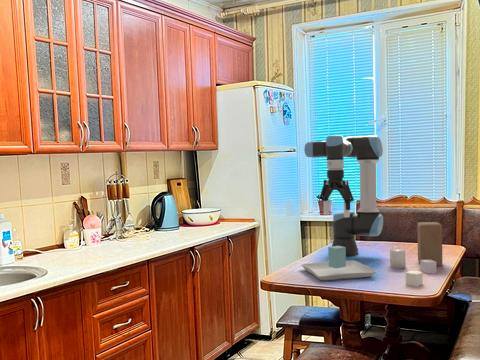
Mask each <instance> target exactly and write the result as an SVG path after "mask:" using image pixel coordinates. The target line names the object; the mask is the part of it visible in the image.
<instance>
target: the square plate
mask: <svg viewBox="0 0 480 360" xmlns="http://www.w3.org/2000/svg"><path fill="white" fill-rule="evenodd" d="M300 265H301V267H302V268H303V269H304V270H305V271H307V272H308V273H310V274H311V275H313V276H315V278H317V279H318V280H320V281H324V282H325V281H337V280H339V281H340V280H351V279H353V280H354V279H362V278H363V277H364V278H370V277H372V276H374V275H376V274H377V273H378V271H377V270H375V269H373V268H372V267H370V266H367V265H365V264H363V263H361V262H359V261H356V260H353V259H352V260H346V267H342V268H332V267H329V261H319V262H311V263H301V264H300Z"/></svg>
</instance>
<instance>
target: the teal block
mask: <svg viewBox="0 0 480 360" xmlns="http://www.w3.org/2000/svg"><path fill="white" fill-rule="evenodd" d="M327 249H328V251H327V255H328V257H327V258H328V262H329V267H332V268H342V267H346V261H347V256H346V247H342V246H333V247H332V246H329V247H328V248H327Z"/></svg>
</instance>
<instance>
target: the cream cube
mask: <svg viewBox="0 0 480 360" xmlns="http://www.w3.org/2000/svg"><path fill="white" fill-rule="evenodd" d="M423 274H424V272H422V271H419V270H411V269H410V270H408V271H405V285H407V286H414V287H420V286H421V285H423V284H424V280H423V276H424V275H423Z"/></svg>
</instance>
